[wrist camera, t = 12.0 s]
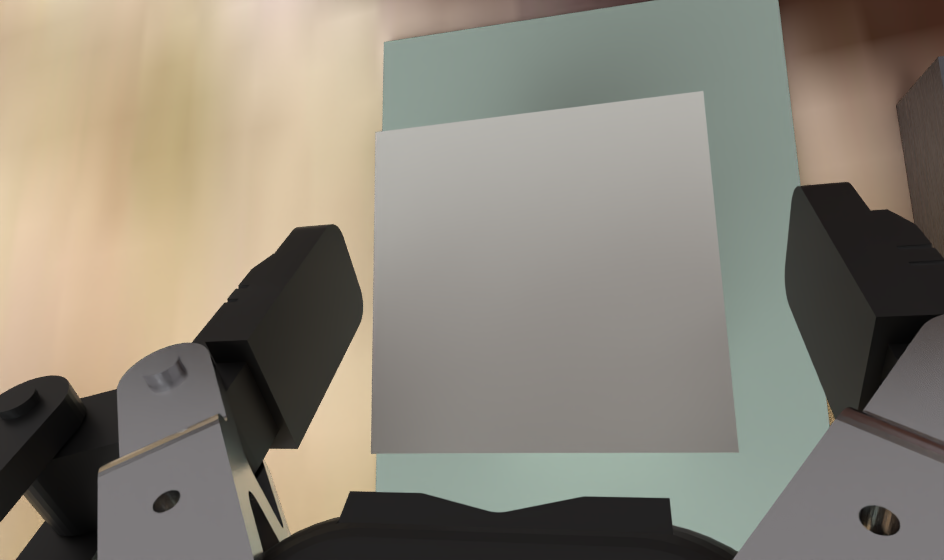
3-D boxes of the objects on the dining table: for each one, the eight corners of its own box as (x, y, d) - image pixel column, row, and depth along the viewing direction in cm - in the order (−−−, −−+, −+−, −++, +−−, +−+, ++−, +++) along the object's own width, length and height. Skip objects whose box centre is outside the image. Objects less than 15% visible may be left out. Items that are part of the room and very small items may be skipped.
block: (669, 245, 18) (703, 90, 9) (684, 430, 17) (738, 452, 8) (492, 258, 19) (375, 132, 10) (496, 433, 18) (371, 453, 9)
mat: (773, -10, 19) (775, -19, 18) (865, 760, 15) (871, 769, 14) (388, 48, 22) (384, 42, 21) (377, 710, 18) (371, 717, 17)
